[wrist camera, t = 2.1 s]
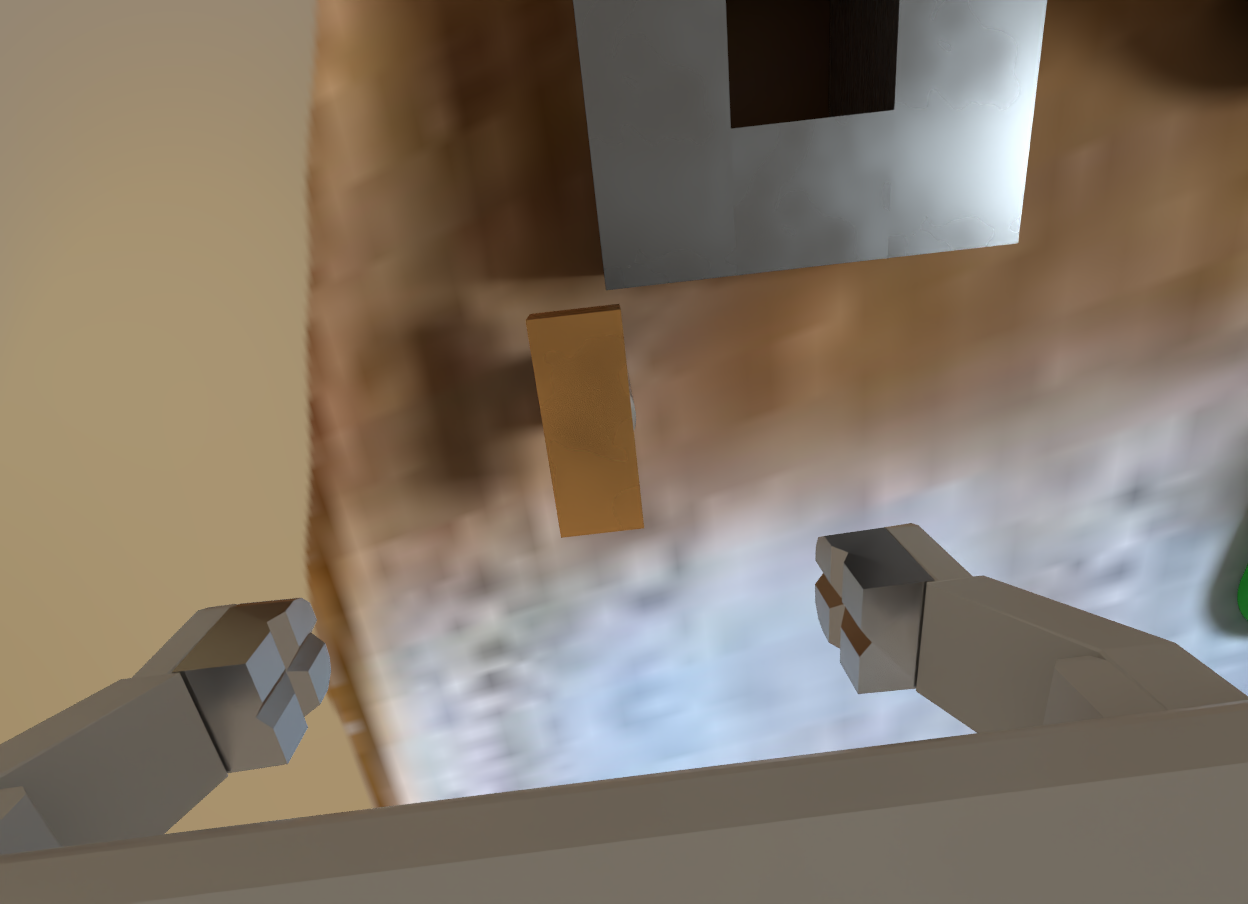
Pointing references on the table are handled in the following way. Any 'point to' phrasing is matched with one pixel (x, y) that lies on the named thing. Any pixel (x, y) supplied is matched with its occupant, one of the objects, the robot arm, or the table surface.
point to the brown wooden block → (587, 418)
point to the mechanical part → (1243, 594)
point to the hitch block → (807, 138)
